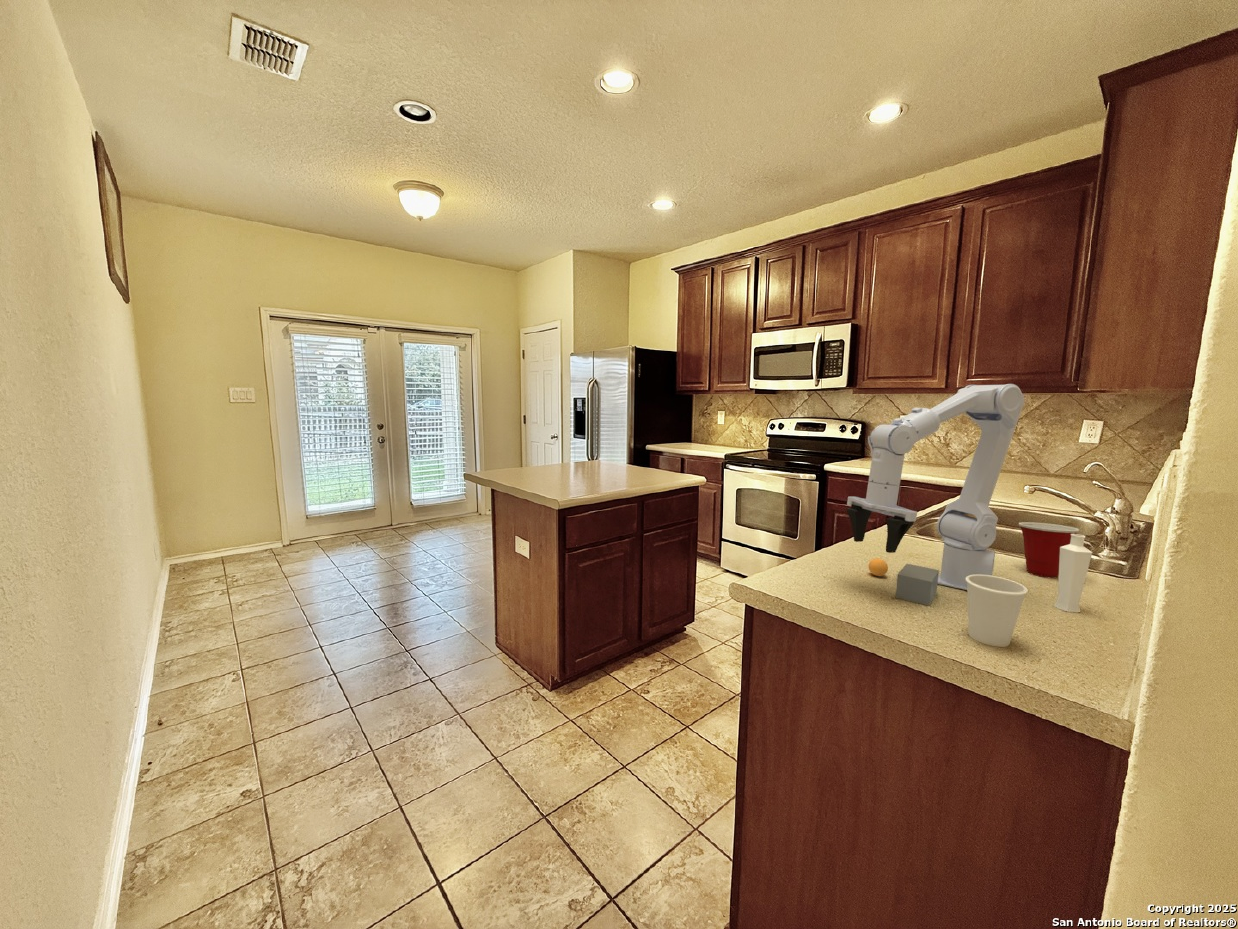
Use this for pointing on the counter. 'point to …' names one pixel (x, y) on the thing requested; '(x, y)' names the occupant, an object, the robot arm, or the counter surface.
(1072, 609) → the perfume bottle
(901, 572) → the gray block
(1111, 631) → the counter surface
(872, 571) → the ball
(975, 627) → the dixie cup
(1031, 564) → the plastic cup
